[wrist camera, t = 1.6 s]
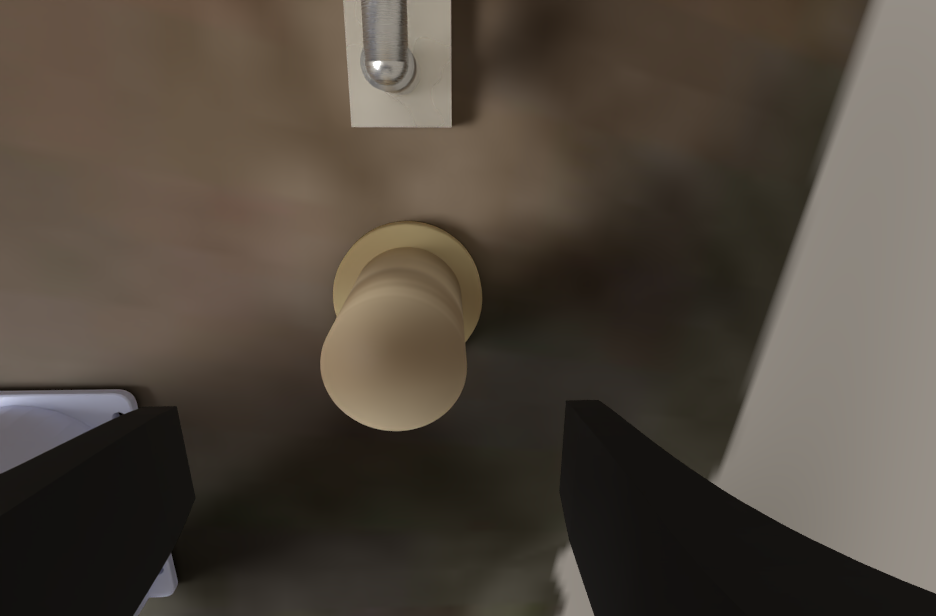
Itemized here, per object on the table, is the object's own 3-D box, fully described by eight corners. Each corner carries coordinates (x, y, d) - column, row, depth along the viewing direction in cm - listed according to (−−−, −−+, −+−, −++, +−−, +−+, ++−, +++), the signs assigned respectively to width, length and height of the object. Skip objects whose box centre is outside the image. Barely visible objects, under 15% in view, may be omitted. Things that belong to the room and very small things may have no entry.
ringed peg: (480, 356, 20) (493, 452, 14) (342, 357, 20) (302, 455, 14) (481, 220, 18) (497, 269, 13) (331, 221, 18) (280, 271, 13)
